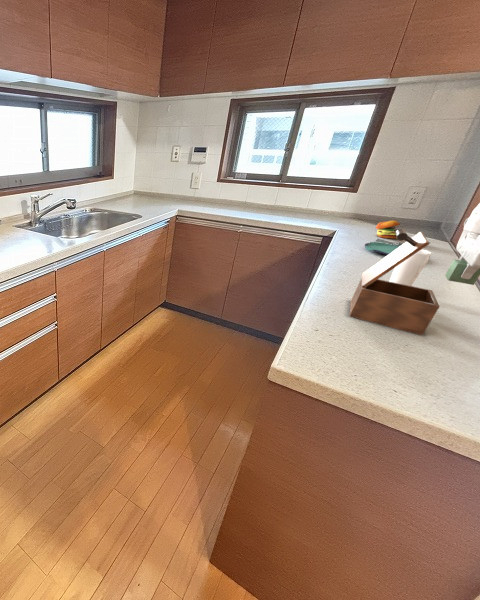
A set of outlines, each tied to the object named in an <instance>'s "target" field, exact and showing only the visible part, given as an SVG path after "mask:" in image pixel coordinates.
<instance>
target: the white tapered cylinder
mask: <svg viewBox="0 0 480 600" xmlns="http://www.w3.org/2000/svg"><path fill="white" fill-rule="evenodd" d="M431 256H432V252H431V251H430V250H426V249H424V248H423V249H421V250H420V251H418V252H417V253H415V254H414V255H412V256H411V257H410V258H408V259H407V260H405V261H404V262H402V263H401V264H399V265H398V266H396V267H395V268H393V269H392V270H393V271H392V273H391V276H390V278H389V280H388V281H389V282H394V283H399V284H404V285H409V286H413V284H414V283H415V281H417V278H419V275H420V274H421V273H422V271H423V270H424V268H425V267H426V265H427V263H428V262H429V260H430V258H431Z"/></svg>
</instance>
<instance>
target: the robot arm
mask: <svg viewBox="0 0 480 600" xmlns="http://www.w3.org/2000/svg"><path fill="white" fill-rule="evenodd" d="M455 249H456V252H457V253H459V255H460V256H459V259H458V260H462V261H467V262H468V264H467V267H466V268H465V270H464V271H463V272H462V273H461V275H460V276H461V278H464V279H470V278H471V277H472V275H473V274H474V273H475V272H476V271H477V270H478V269H479V268H480V202H479V203H478V205H477V206H475V208H474V209H473V210H472V212H471V213H470V215H469V217H466V219H465V221H464V223H463V230H462V232H461V234H460V237H459V239H458V242H457V244H456V247H455Z"/></svg>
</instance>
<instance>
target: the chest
mask: <svg viewBox="0 0 480 600" xmlns="http://www.w3.org/2000/svg"><path fill="white" fill-rule="evenodd" d="M389 281H390V280H384V279H380V278H379V279H377V280H376V281H374V282H373V283H371V284H370V285H369V286H367V287H366V288H363V287H362V277H361V278H360V280H359V282H358V284H357V286H356V288H355V291H354V293H353V295H352V297H351V299H350V306H349V317H350V318H354V319H358V320H363V321H366V322H370V323H374V324H377V325H382V326H385V327H389V328H392V329H397V330H400V331H404V332H408V333H412V334H415V335H418V336H423V335H424V333H425V332H426V330H427V328H428V327H429V324H430V323H431V322H432V320H433V319H434V316H435V315H436V313H437V312H438V310H439V309H440V304H439V302H438V300H437V297H436V295H435V293H434V291H433V289H428V288H423V287H418V286H413V285H412V286H409V285H404V284H399V283H394V282H389Z"/></svg>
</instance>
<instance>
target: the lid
mask: <svg viewBox="0 0 480 600" xmlns="http://www.w3.org/2000/svg"><path fill="white" fill-rule="evenodd" d="M395 234H396V237H397V239H398V241H405V242H404V243H403V245H401V246H400V247H398V248H397V249H396V250H394V251H393V252H391V253H390V254H389V255H387V254H386V256H384V257H383V258H382V259H380V260H379V261H377V262H376V263H375V264H372V265H371V267H369V268H368V269H366V270H365V271H364V272H362V273H361V278H362V287H363V288H366V287H367V286H369V285H370V284H371V283H373V282H374V281H376V280H377V279H380V278H382V277H383V276H385V275H386V274H388V273H389V272H391V271H392V270H394V268H395V267H396V266H398V265H399V264H401V263H402V262H404V261H405V260H407V259H408V258H410V257H411V256H412V255H414V254H415V253H417V252H418V251H420V250H421V249H423V250H424V248H426V247H428V246H429V245H430V242H429V240H428V239H427V238H426V236H425V234H424V233H423V232H422V231H419V232H418V233H417V234H415V235H414V236H412V237H410V236H409V235H408V233H407V231H406V230H405V229H403V228H399V230H397V231H396V233H395ZM397 239H396V240H397Z"/></svg>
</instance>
